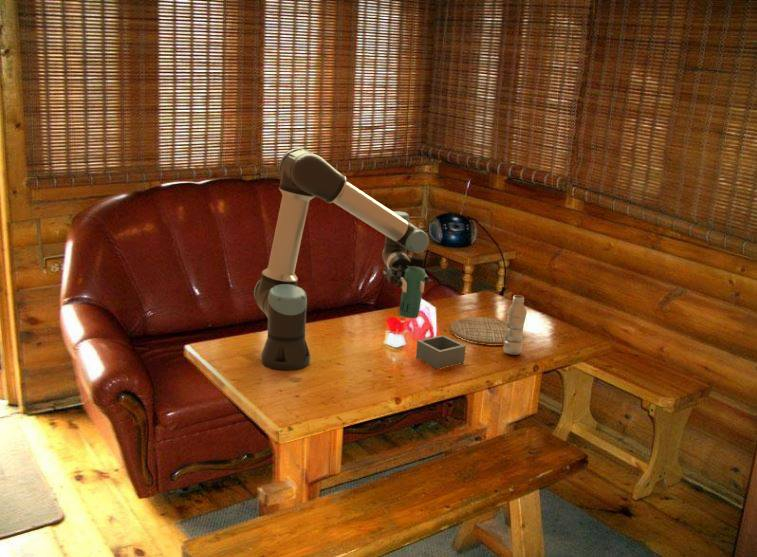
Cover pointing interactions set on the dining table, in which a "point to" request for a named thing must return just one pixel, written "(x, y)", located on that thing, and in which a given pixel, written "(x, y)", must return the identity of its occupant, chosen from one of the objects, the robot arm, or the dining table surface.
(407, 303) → the beverage bottle
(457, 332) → the trivet
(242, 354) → the dining table surface
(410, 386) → the dining table surface
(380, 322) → the dining table surface
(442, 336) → the bottle holder
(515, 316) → the plastic bottle
